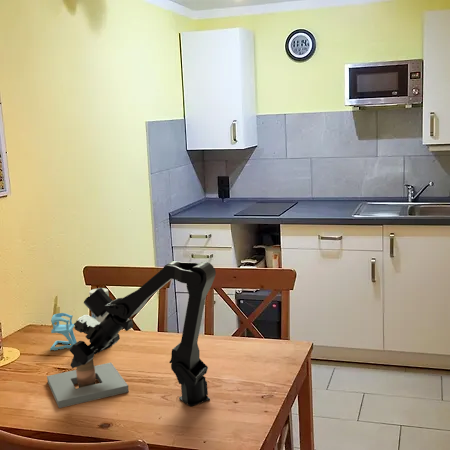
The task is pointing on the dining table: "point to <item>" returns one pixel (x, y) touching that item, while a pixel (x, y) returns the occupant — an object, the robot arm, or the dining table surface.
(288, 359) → the dining table surface
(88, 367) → the lidded jar
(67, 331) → the chair
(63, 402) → the slotted shelf board
